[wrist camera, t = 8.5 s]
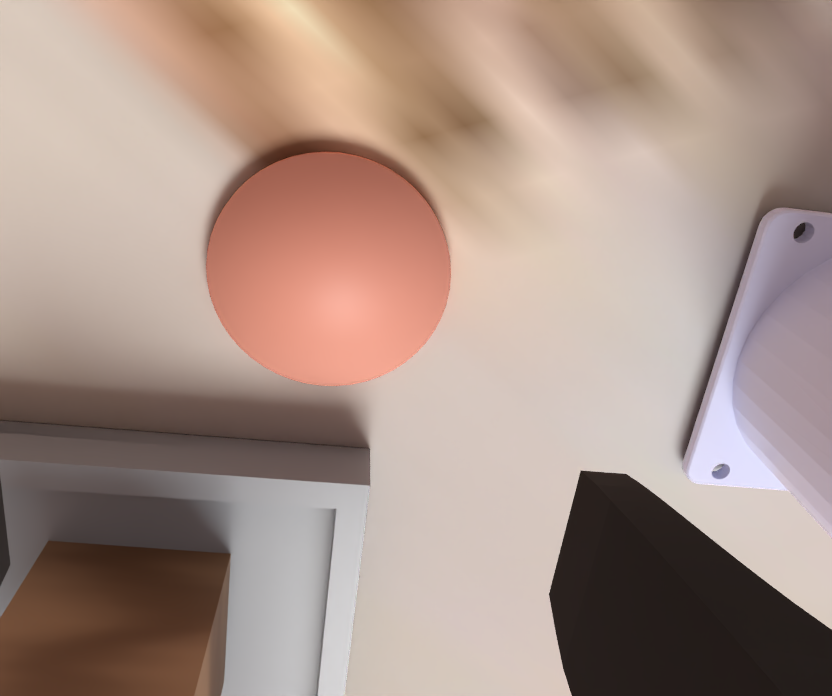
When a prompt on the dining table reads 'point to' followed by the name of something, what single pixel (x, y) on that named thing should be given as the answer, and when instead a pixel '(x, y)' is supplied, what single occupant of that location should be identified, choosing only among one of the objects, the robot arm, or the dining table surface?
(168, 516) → the slate tray
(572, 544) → the robot arm
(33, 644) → the walnut block
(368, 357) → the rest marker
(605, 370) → the dining table surface
